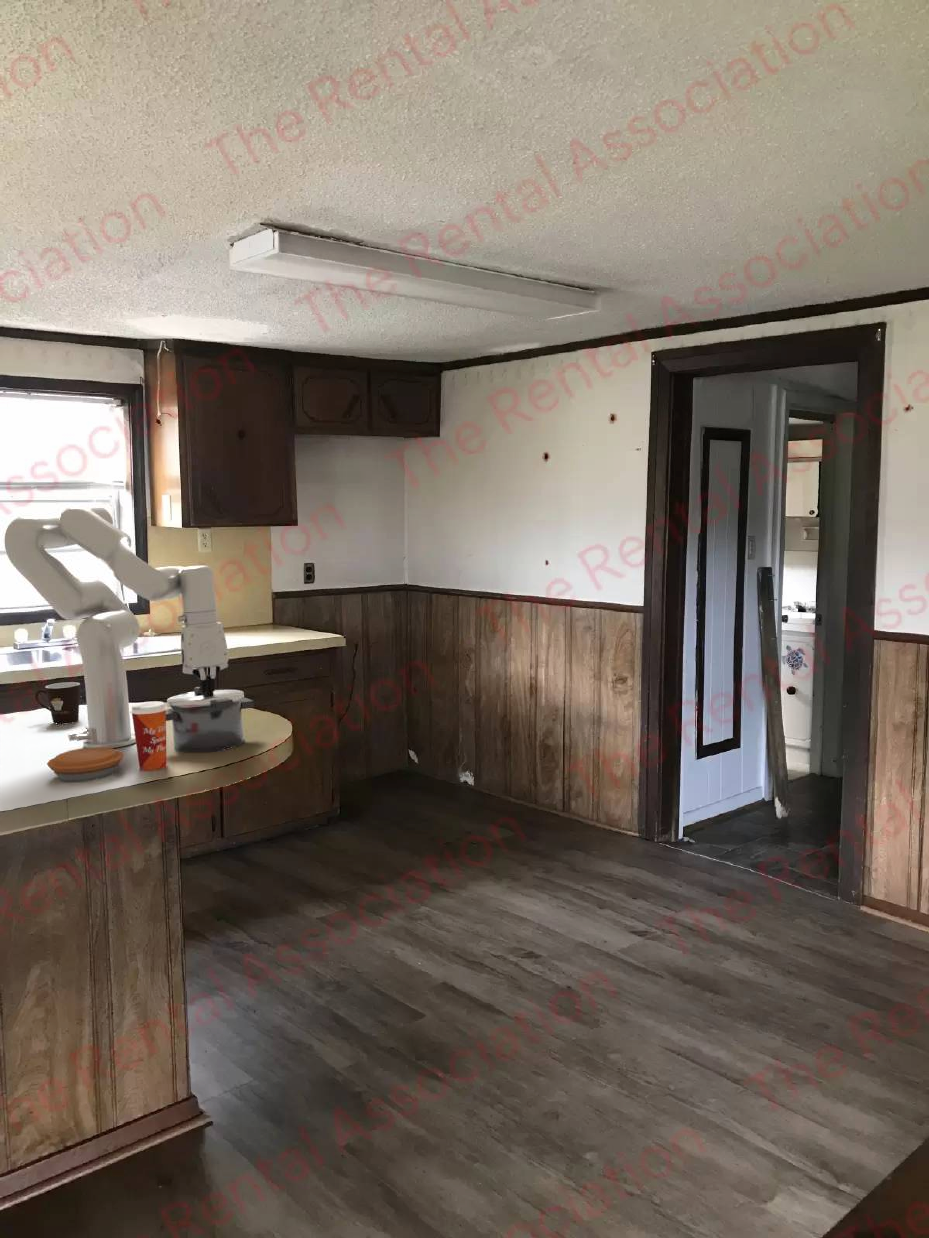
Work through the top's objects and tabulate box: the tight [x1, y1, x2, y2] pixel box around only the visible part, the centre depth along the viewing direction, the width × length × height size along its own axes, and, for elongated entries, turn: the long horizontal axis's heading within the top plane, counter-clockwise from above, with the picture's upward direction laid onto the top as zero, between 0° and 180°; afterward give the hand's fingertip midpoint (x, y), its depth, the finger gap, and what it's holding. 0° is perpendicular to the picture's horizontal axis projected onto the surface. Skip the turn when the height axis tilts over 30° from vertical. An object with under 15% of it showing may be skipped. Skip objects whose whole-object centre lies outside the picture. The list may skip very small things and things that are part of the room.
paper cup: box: [129, 700, 168, 772], centre depth 220 cm, size 8×8×14 cm
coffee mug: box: [34, 681, 81, 725], centre depth 273 cm, size 12×9×10 cm
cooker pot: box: [166, 697, 255, 754], centre depth 241 cm, size 22×19×10 cm
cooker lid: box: [166, 686, 245, 708], centre depth 238 cm, size 18×21×3 cm
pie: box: [46, 747, 125, 783], centre depth 217 cm, size 15×16×5 cm
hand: (208, 695), depth 239 cm, fingers closed
